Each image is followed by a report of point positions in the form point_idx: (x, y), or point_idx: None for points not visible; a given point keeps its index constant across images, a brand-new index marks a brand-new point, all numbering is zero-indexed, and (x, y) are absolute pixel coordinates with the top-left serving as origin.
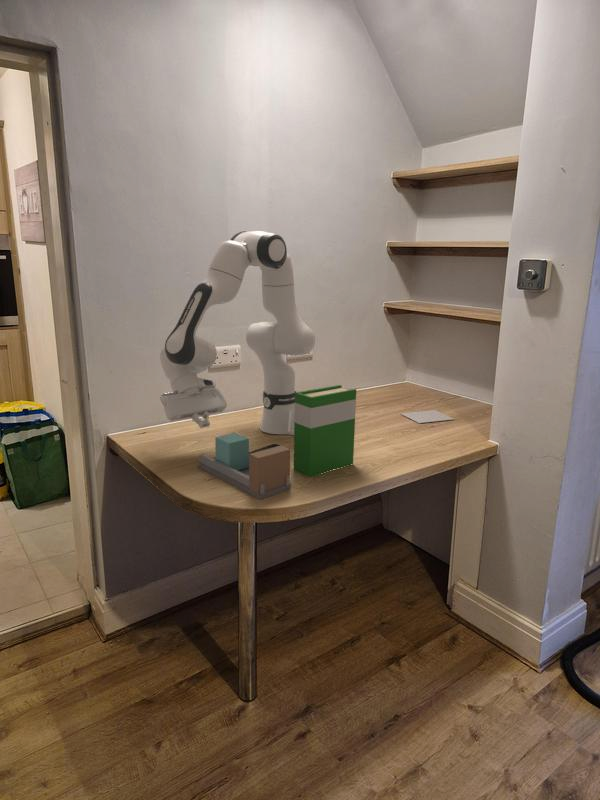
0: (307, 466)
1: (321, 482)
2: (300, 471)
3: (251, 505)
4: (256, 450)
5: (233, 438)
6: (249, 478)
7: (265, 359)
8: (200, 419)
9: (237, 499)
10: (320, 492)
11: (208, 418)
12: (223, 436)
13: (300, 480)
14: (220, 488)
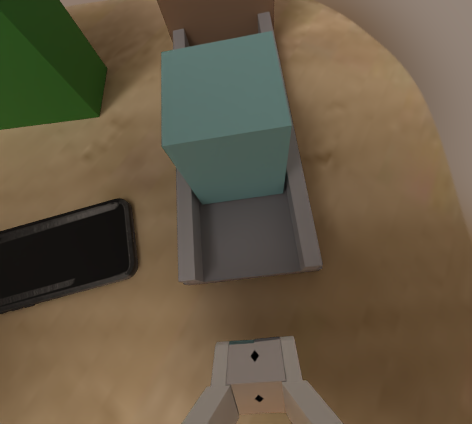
0: (89, 50)
1: (107, 41)
2: (99, 90)
3: (296, 6)
4: (68, 291)
5: (220, 74)
6: (273, 3)
7: None
8: (294, 394)
9: (310, 36)
10: (145, 8)
11: (201, 395)
12: (247, 117)
13: (133, 63)
14: (321, 97)
